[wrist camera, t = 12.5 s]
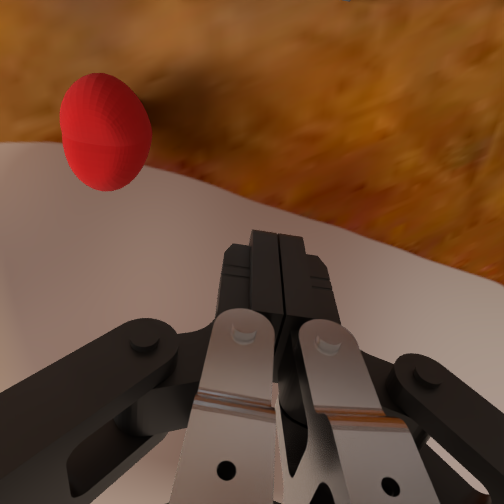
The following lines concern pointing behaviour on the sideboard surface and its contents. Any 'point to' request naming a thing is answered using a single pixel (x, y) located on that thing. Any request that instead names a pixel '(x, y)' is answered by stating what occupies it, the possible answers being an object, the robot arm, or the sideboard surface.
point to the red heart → (104, 131)
